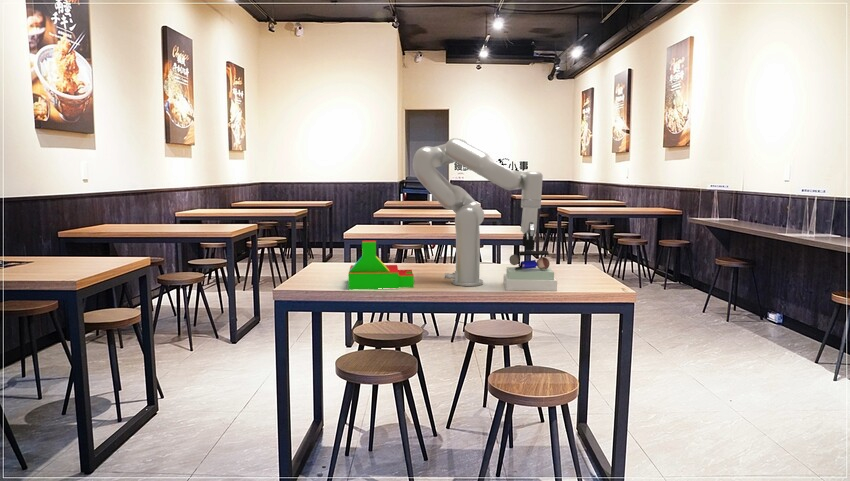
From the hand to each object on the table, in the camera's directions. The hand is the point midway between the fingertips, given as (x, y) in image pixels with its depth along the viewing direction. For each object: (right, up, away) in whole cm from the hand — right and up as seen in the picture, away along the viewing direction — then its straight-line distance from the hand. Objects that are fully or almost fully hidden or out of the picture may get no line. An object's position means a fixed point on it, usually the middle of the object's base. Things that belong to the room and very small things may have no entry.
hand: (528, 248), depth 226 cm
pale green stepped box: (+1, -15, +2) cm, 15 cm away
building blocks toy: (-57, -15, +7) cm, 60 cm away
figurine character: (+1, -9, +1) cm, 9 cm away
